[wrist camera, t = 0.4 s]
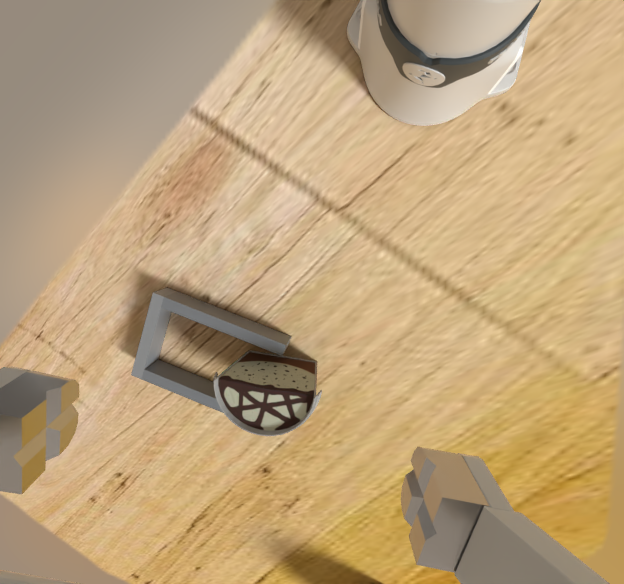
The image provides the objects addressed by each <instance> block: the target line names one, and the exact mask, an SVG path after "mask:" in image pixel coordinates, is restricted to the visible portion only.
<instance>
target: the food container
mask: <svg viewBox="0 0 624 584" xmlns="http://www.w3.org/2000/svg"><path fill="white" fill-rule="evenodd" d="M316 381H317V361H312V360H306V359H300V358H294V357H288V356H281V355H276V354H270V353H264V352H258V351H252V350H249V351H247V352H246V353H245V354H244V355H243V356H241V357H240V358H239V359H238V360H237V361H236V362H234V363H233V364H232V365H231V366H230V367H228V368H227V369H226V370H225V371H224V372H222V373H221V374H220V375H219V376H218V374H217V372H216V373H215V376H214V391H215V396H216V399H217V402H218V404H219V406H220V408H221V410H222V411H223V412H224V414H225V415H226V416H227V417H228V418H229V419H230V421H232V422H233V423H234V424H235V425H237V426H238V427H240V428H241V429H243V430H245V431H247V432H250V433H253V434H257V435H262V436H276V435H282V434H285V433H288V432H290V431H292V430H294V429H296V428H298V427H299V426H300V425H302V424H303V423H304V422H305V421H306V420H307V419H308V418H309V417H310V415H311V414H312V413H313V411H314V410H315V408H316V406H317V405H318V402H319V400H320V397H321V393H322V390H320V392H319V393H318V394H317V395H316Z"/></svg>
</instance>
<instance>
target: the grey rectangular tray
mask: <svg viewBox="0 0 624 584" xmlns="http://www.w3.org/2000/svg"><path fill="white" fill-rule="evenodd" d="M171 312H173V313H175V314H178V315H180V316H183V317H185V318H188V319H191V320H193V321H196V322H198V323H201V324H203V325H206V326H208V327H211V328H213V329H216V330H218V331H221V332H223V333H226V334H228V335H231V336H233V337H236V338H238V339H241V340H243V341H246V342H248V343H251V344H253V345H256V346H258V347H261V348H263V349H266V350H268V351H271V352H273V353H276V354H278V355H281V356H283V354H284V352H285V350H286V349H287V347H288V344H289V342H290V339H291V336H289V335H287V334H284V333H281V332H279V331H276V330H274V329H271V328H269V327H266V326H264V325H261V324H259V323H256V322H254V321H251V320H249V319H246V318H243V317H241V316H238V315H236V314H233V313H231V312H228V311H226V310H223V309H221V308H218V307H216V306H213V305H210V304H208V303H205V302H203V301H200V300H198V299H195V298H193V297H190V296H188V295H185V294H183V293H180V292H177V291H175V290H172V289H170V288H164V289H161V290H159V291H156V292H153V294H152V298H151V302H150V306H149V309H148V313H147V317H146V321H145V324H144V328H143V332H142V336H141V340H140V343H139V347H138V351H137V355H136V359H135V362H134V366H133V370H132V374H131V375H132V376H135V377H137V378H140V379H142V380H145V381H147V382H149V383H152V384H154V385H157V386H159V387H162V388H164V389H167V390H169V391H171V392H174V393H176V394H179V395H181V396H184V397H186V398H188V399H191V400H193V401H196V402H198V403H201V404H203V405H205V406H208V407H210V408H213V409H215V410H218V411H220V412H223V411H222V410H221V408H220V406H219V404H218V402H217V399H216V396H215V391H214V382H212V381H210V380H207V379H205V378H203V377H200V376H198V375H195V374H193V373H190V372H188V371H185V370H183V369H180V368H178V367H175V366H173V365H171V364H168V363H166V362H163V361H161V360H158V359H159V355H160V351H161V348H162V344H163V341H164V337H165V334H166V330H167V326H168V323H169V319H170V316H171ZM223 413H224V412H223Z"/></svg>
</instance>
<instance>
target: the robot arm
mask: <svg viewBox="0 0 624 584" xmlns="http://www.w3.org/2000/svg"><path fill="white" fill-rule="evenodd" d="M540 1H541V0H360V2H359V4H358V6H357V8H356V9H355V11H354V13H353V15H352V17H351V19H350V21H349V23H348V26H347V37H348V40H349V42H350V43H351V45H352V47H353V48H354V50H355V51H356V53H357V54H358V55H359V57H360V60H361V64H362V68H363V74H364V78H365V82H366V85H367V87H368V90H369V92H370V94H371V96H372V97H373V99H374V100H375V102H376V103H377V104H378V105H379V106H380V108H381V109H383V110H384V111H385V112H386V113H387V114H389V115H390V116H391V117H393V118H395V119H397V120H399V121H401V122H404V123H407V124H412V125H419V126H428V125H436V124H440V123H444V122H447V121H449V120H452V119H454V118H456V117H458V116H459V115H461V114H463V113H464V112H466V111H467V110H468V109H469V108H471V107H472V106H473V105H475V104H476V103H478V102H479V101H481V100H483V99H486V98H490V97H494V96H497V95H500V94H503V93H505V92H506V91H508V90H509V89H510V88H511V87H512V85H513V84H514V82H515V80H516V77H517V73H518V69H519V65H520V61H521V57H522V53H523V49H524V45H525V41H526V37H527V33H528V29H529V25H530V21H531V18H532V17H533V15H534V13H535V11H536V9H537V7H538V5H539V3H540ZM360 18H361V19H360ZM78 397H79V384H78V383H77V381H76V380H73V379H68V378H64V377H59V376H55V375H50V374H45V373H41V372H36V371H30V370H26V369H21V368H16V367H3V368H1V369H0V491H3V492H10V493H17V494H23V493H24V492H25V491H26V489H27V488H28V487H29V486H30V485H31V484H32V483H33V482H34V481H35V480H36V479H37V478H38V477H39V476H40V475H41V474H42V473H43V472H44V471H45V461H47V460H49V459H51V458H54V457H56V456H58V455H60V454H61V453H62V452H63V451H64V449H65V448H66V447H67V446H68V445H69V443H70V441H71V439H72V437H73V436H74V434H75V431H76V427H77V424H78V412H77V411H76V409H75V408H74V406H73V405H72V403H73V402H74V401H75V400H76V399H77V398H78ZM411 462H412V465H413V468H414V470H412V471H411V472H410V473H408V474H407V475H406V476H405V479H404V482H403V486H402V493H401V505H402V511H403V515H404V519H405V520H406V521H407V522H408V523H409V524H410V525H411V527H412V529H411V531H410V534H409V539H410V542H411V546H412V550H413V553H414V557H415V561H416V564H417V565H421V566H426V567H431V568H435V569H440V570H445V571H450V572H454V573H455V576H456V577H457V579H458V580H459V581H460V583H461V584H609V583H608V582H607V581H606V580H604V579H603V578H602V577H601V576H599V575H598V574H597V573H596V572H594V571H593V570H592V569H591V568H589V567H588V566H587V565H586V564H584V563H583V562H582V561H581V560H579V559H578V558H577V557H576V556H574V555H573V554H572V553H571V552H569V551H568V550H567V549H566V548H564V547H563V546H562V545H561V544H559V543H558V542H557V541H556V540H554V539H553V538H552V537H551V536H549V535H548V534H547V533H546V532H544V531H543V530H542V529H540V528H539V527H538V526H537V525H535V524H534V523H533V522H532V521H530V520H529V519H528V518H527V517H525V516H524V515H523V514H522V513H519V512H514V510H513V509H512V507H511V506H510V504H509V502H508V501H507V499H506V497H505V496H504V494H503V492H502V491H501V489H500V487H499V486H498V484H497V483H496V481H495V479H494V478H493V476H492V474H491V473H490V471H489V469H488V468H487V466H486V464H485V463H484V461H483V460H482V459H481V458H479V457H477V456H471V455H465V454H459V453H458V454H455V453H450V452H444V451H439V450H433V449H428V448H422V447H417V448H416V450H415V451H414V453H413V456H412V459H411ZM0 584H81V583H75V582H69V581H63V580H57V579H51V578H45V577H40V576H34V575H27V574H22V573H15V572H10V571H4V570H0Z"/></svg>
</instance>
